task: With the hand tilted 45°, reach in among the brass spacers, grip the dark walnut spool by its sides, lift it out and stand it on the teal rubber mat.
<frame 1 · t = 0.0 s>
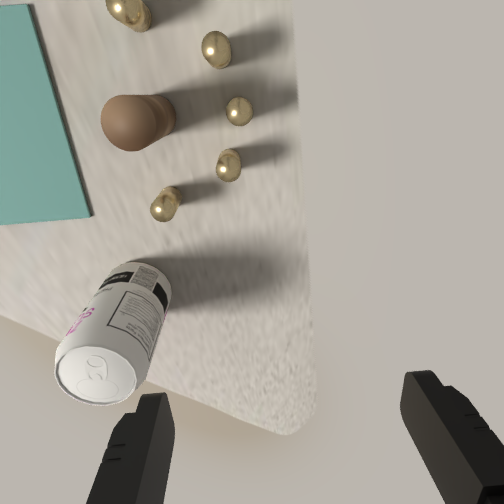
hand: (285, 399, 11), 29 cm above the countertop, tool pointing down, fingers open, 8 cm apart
supplement can: (140, 287, 43), on the countertop
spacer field: (156, 116, 34), on the countertop
walnut spool: (144, 119, 30), in the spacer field
teal mat: (0, 129, 34), on the countertop
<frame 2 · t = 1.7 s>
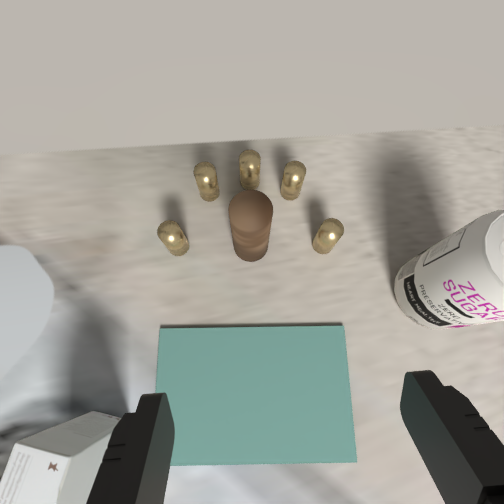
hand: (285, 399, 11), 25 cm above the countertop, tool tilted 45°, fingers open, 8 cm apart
supplement can: (427, 293, 38), on the countertop
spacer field: (250, 245, 39), on the countertop
walnut spool: (250, 230, 35), in the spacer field
skincare box: (103, 447, 33), on the countertop
teal mat: (253, 391, 35), on the countertop
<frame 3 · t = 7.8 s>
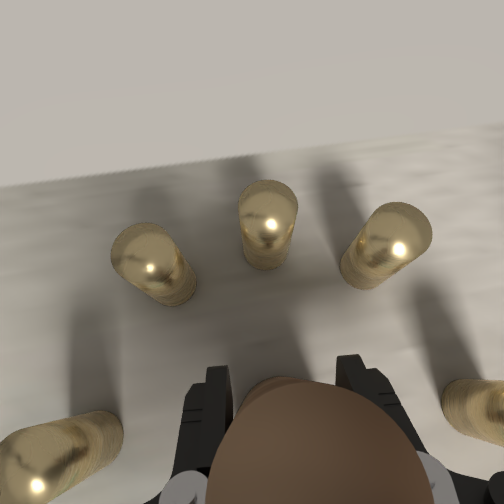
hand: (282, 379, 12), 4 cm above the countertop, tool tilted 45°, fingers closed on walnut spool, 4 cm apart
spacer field: (283, 423, 15), on the countertop
walnut spool: (292, 446, 11), in the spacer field, touching gripper
when the fingers open (6 cm above the countertop, at t = 16.2 s): walnut spool drops 1 cm, resting on teal mat.
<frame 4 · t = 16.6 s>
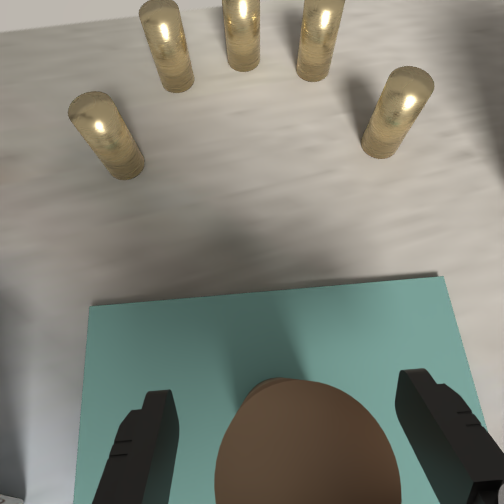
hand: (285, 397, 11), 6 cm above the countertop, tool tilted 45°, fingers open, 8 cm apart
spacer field: (253, 154, 22), on the countertop
walnut spool: (288, 438, 12), on the teal mat
teal mat: (279, 417, 17), on the countertop
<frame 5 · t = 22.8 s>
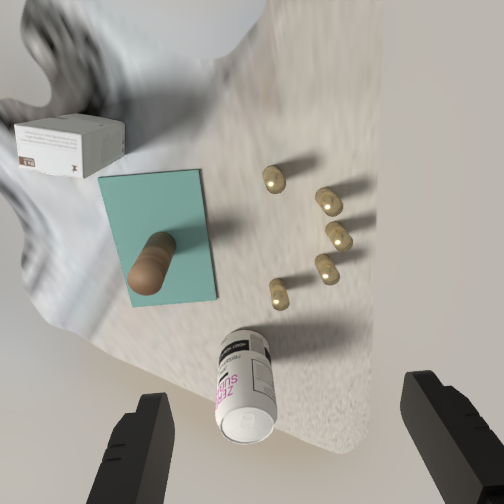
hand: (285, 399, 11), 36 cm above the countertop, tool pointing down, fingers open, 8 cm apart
supplement can: (244, 345, 56), on the countertop
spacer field: (274, 234, 48), on the countertop
walnut spool: (154, 261, 43), on the teal mat
skincare box: (100, 136, 41), on the countertop
teal mat: (163, 243, 48), on the countertop
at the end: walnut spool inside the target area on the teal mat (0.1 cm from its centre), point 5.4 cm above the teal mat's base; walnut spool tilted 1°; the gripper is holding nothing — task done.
